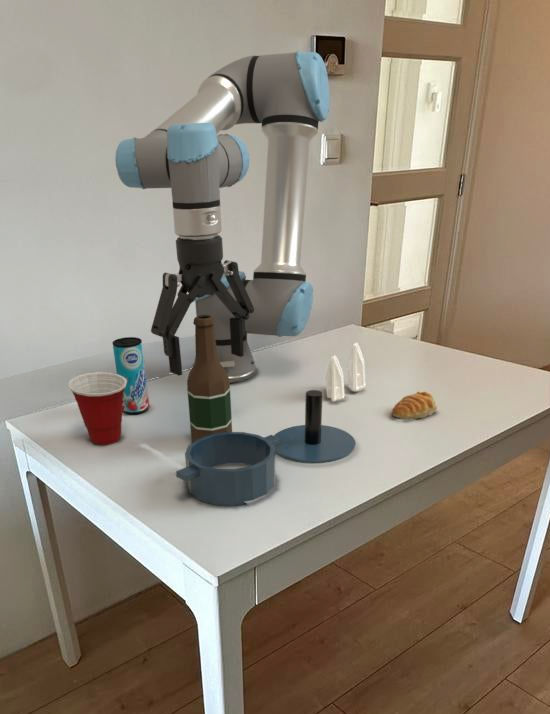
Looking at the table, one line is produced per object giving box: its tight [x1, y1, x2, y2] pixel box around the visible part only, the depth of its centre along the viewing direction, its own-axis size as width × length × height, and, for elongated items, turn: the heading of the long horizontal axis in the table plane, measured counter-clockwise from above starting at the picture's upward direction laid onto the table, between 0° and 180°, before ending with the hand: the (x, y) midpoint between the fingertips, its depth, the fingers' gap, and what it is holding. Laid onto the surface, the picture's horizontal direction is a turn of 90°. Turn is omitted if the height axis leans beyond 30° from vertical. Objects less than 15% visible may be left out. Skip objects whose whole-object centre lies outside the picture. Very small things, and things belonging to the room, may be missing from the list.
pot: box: [175, 431, 280, 507], centre depth 105 cm, size 15×20×6 cm
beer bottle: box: [186, 315, 233, 444], centre depth 114 cm, size 8×8×24 cm
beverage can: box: [112, 336, 150, 415], centre depth 132 cm, size 6×6×15 cm
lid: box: [273, 389, 356, 464], centre depth 115 cm, size 16×16×11 cm
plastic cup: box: [67, 371, 127, 446], centre depth 121 cm, size 11×11×12 cm
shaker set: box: [325, 342, 367, 402], centre depth 137 cm, size 12×4×11 cm, turn 129°
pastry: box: [392, 391, 438, 420], centre depth 128 cm, size 9×7×4 cm
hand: (207, 364), depth 113 cm, fingers open, 13 cm apart
